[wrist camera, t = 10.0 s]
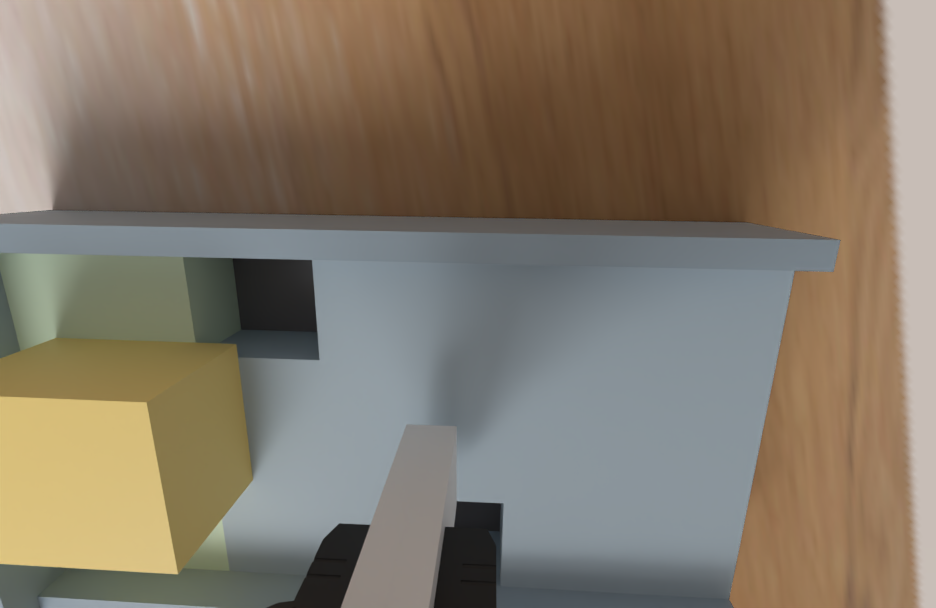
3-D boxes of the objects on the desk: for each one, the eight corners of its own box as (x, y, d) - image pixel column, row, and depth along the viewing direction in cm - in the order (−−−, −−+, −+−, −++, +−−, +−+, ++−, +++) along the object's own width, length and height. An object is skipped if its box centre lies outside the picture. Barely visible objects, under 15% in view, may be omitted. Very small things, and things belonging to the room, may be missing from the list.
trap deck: (691, 552, 20) (764, 692, 14) (119, 522, 21) (-9, 640, 16) (746, 222, 16) (871, 245, 11) (51, 210, 17) (-147, 225, 12)
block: (253, 479, 16) (177, 574, 12) (87, 471, 17) (-37, 562, 13) (236, 343, 15) (146, 402, 11) (56, 337, 15) (-93, 392, 11)
